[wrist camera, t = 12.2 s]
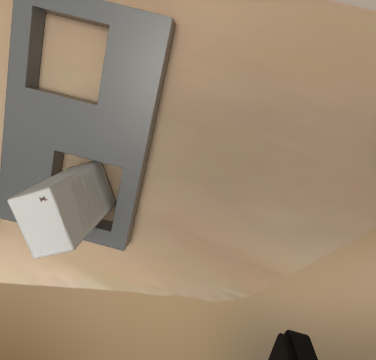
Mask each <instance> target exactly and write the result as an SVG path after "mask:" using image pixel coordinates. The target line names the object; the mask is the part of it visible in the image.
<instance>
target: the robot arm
mask: <svg viewBox="0 0 376 360" xmlns="http://www.w3.org/2000/svg"><path fill="white" fill-rule="evenodd" d="M268 360H318V359H317V356H316V354H315V351H314V348H313V345H312V342H311V340H310V338H309V336H308V335H305V334H302V333H298V332H295V331H291V330H287V331H286V332H285V334H281V333H280V334H279V335H278V336H277V339H276V342H275V344H274V346H273V349H272V352H271V354H270V357H269V359H268Z"/></svg>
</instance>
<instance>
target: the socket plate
mask: <svg viewBox="0 0 376 360" xmlns="http://www.w3.org/2000/svg"><path fill="white" fill-rule="evenodd" d="M46 12H47V13H50V14H54V15H58V16H62V17H66V18H70V19H74V20H78V21H82V22H86V23H90V24H94V25H98V26H102V27H106V28H109V32H108V39H107V45H106V51H105V58H104V64H103V71H102V77H101V83H100V90H99V96H98V103H96V102H92V101H88V100H84V99H80V98H76V97H72V96H68V95H64V94H60V93H57V92H53V91H49V90H45V89H41V88H38V83H39V73H40V63H41V54H42V44H43V34H44V25H45V15H46ZM175 25H176V23H175V21H174V19H173V18H172V17H168V16H164V15H160V14H156V13H152V12H148V11H144V10H140V9H136V8H132V7H127V6H123V5H119V4H115V3H111V2H107V1H103V0H13V11H12V24H11V37H10V50H9V63H8V76H7V90H6V103H5V116H4V129H3V142H2V155H1V169H0V218H2V219H5V220H9V221H13V222H17V221H16V219H15V216H14V214H13V212H12V210H11V208H10V206H9V203H8V201H7V200H8V199H9V198H11V197H13V196H15V195H17V194H19V193H21V192H23V191H24V190H26V189H28V188H30V187H32V186H34V185H36V184H38V183H40V182H42V181H44V180H46V179H48V178H50V177H52V176H54V175H56V174H58V173H60V172H62V164H63V157H64V153H67V154H71V155H75V156H78V157H82V158H86V159H90V160H94V161H98V162H102V163H105V164H109V165H113V166H117V167H121V168H123V172H122V177H121V182H120V187H119V193H118V198H117V203H116V209H115V214H114V219H113V222H109V221H106V220H101V221H100V222H99V223H98V224H97V225H96V226H95V227H94V228H93V230H92V231H91V232H90V233H89V234H88V235H87V236H86V237H85V238H84V240H85V241H89V242H92V243H96V244H100V245H104V246H107V247H111V248H115V249H119V250H123V251H125V249H126V247H127V246H128V244H129V242H130V239H131V234H132V229H133V224H134V220H135V215H136V210H137V205H138V201H139V196H140V191H141V186H142V182H143V177H144V172H145V167H146V163H147V158H148V153H149V149H150V144H151V139H152V134H153V130H154V125H155V120H156V115H157V111H158V106H159V101H160V96H161V92H162V87H163V82H164V77H165V73H166V68H167V63H168V58H169V54H170V49H171V44H172V39H173V35H174V30H175Z"/></svg>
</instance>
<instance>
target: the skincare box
mask: <svg viewBox="0 0 376 360" xmlns="http://www.w3.org/2000/svg"><path fill="white" fill-rule="evenodd" d="M7 201H8V203H9V206H10V208H11V210H12V212H13V214H14V216H15V219H16V221H17V223H18V225H19V227H20V230H21V232H22V234H23V236H24V238H25V240H26V243H27V245H28V247H29V249H30V252H31V254H32V256H33V258H34V259H36V258H40V257H45V256H50V255H55V254H60V253H64V252H69V251H73V250H75V249H76V247H77V246H78V245H79V244H80V243H81V242H82V241H83V240H84V238H85V237H86V236H87V235H88V234H89V233H90V232H91V231H92V230H93V228H94V227H95V226H96V225H97V224H98V223H99V222H100V221H101V220H102V219H103V218H104V216H105V215H106V214H107V213H108V212H109V211H110V210H111V209H112V208H113V207H114V206H115V204H116V201H115V199H114V196H113V193H112V190H111V187H110V185H109V182H108V179H107V176H106V173H105V170H104V168H103V165H102V162H98V161H91V162H87V163H84V164H80V165H77V166H73V167H70V168H68V169H66V170H64V171H62V172H60V173H58V174H56V175H54V176H52V177H50V178H48V179H46V180H44V181H42V182H40V183H38V184H36V185H34V186H32V187H30V188H28V189H26V190H24V191H23V192H21V193H19V194H17V195H15V196H13V197H11V198H9V199H8V200H7Z"/></svg>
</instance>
